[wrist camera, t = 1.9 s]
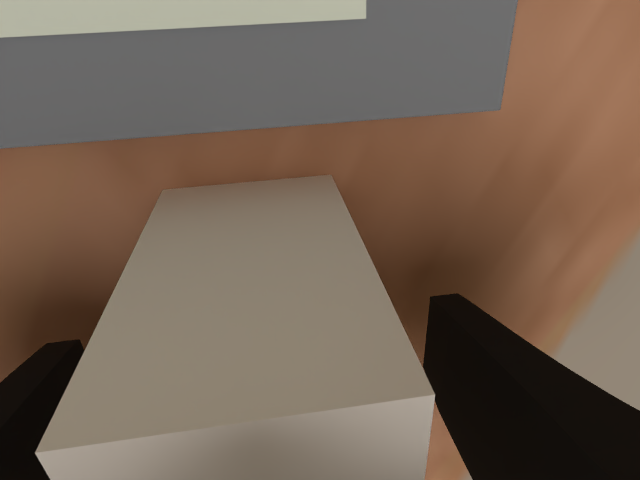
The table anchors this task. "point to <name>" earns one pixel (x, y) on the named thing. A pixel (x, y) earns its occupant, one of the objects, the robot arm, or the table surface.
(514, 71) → the table surface
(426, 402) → the beige rectangular block
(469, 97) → the mat
